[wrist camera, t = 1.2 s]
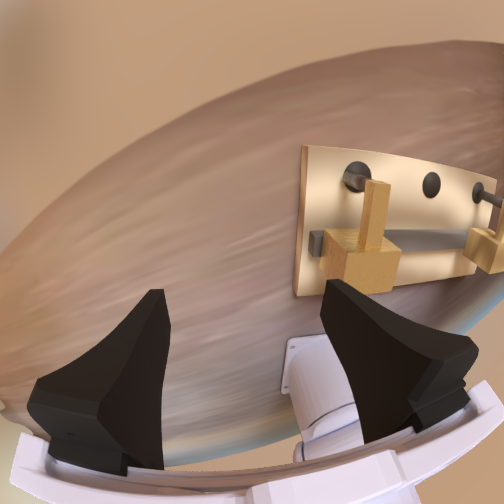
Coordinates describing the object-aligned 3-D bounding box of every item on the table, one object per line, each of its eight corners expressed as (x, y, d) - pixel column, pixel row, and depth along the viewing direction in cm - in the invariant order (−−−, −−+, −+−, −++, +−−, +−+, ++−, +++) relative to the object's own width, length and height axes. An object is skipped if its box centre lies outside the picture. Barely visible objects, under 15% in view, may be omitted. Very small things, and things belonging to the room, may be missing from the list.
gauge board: (466, 268, 26) (501, 296, 20) (292, 286, 24) (316, 341, 17) (488, 176, 21) (531, 194, 15) (302, 144, 19) (342, 153, 12)
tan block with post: (360, 258, 21) (391, 291, 16) (315, 261, 20) (339, 297, 16) (372, 172, 18) (413, 188, 13) (323, 168, 18) (357, 183, 13)
